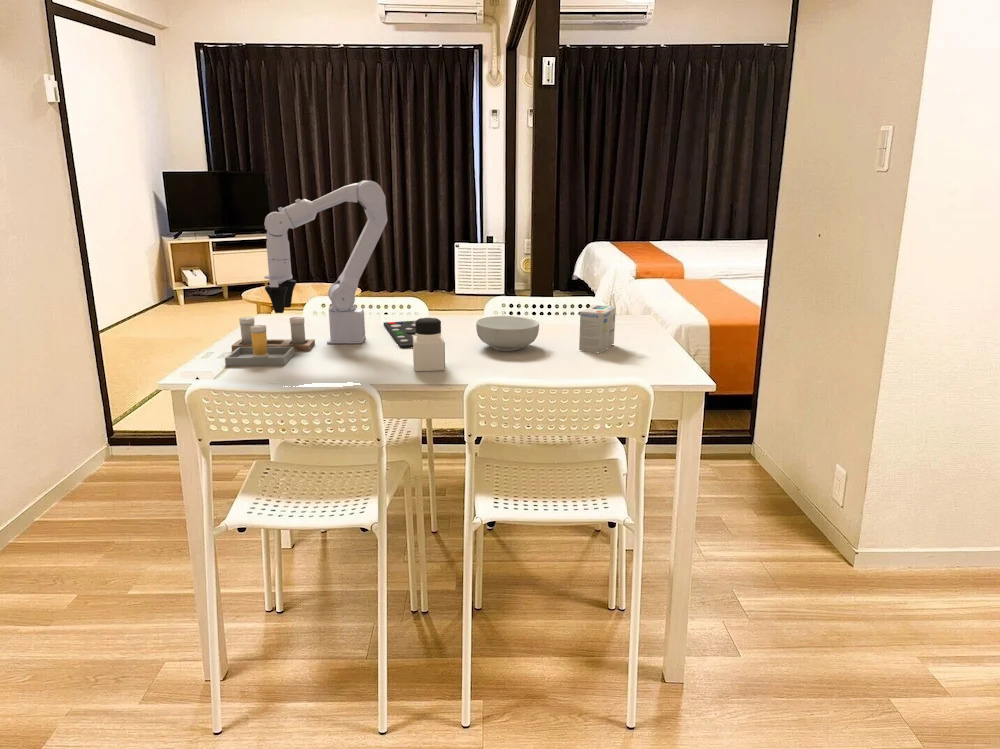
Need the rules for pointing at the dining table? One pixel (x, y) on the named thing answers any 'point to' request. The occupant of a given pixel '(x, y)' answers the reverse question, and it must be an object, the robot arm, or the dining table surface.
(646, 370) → the dining table surface
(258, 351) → the amber fuse
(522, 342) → the cereal bowl
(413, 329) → the remote control
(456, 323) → the dining table surface
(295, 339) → the cylinder
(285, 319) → the dining table surface
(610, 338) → the light bulb box
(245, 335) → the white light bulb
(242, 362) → the tray
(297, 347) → the brown wooden rack
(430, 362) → the medicine bottle
